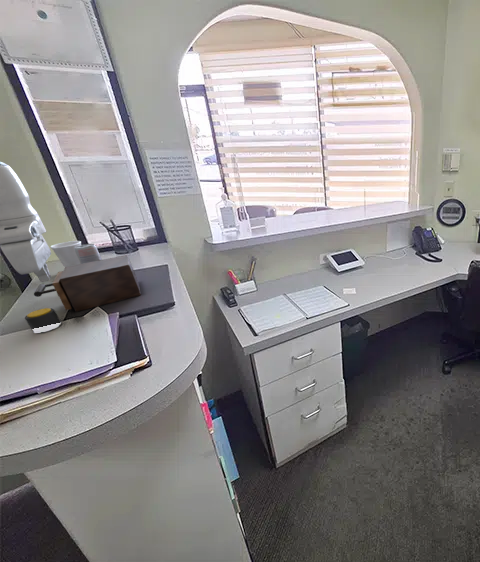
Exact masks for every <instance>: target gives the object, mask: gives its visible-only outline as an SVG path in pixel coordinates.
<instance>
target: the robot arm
mask: <svg viewBox="0 0 480 562" xmlns="http://www.w3.org/2000/svg"><path fill="white" fill-rule="evenodd" d="M46 233H47V229H46V227H45V225H44V224H43V221H42V219H41V217H40V215H39V212H37V210H36V209H35V208H34V207H33V206H32V203H31V199H30V195H29V193H28V192H27V189H26V188H25V186H24V184H23V182H22V180H21V179H20V177H19V176H18V174H17V173H16V172H15V171H14V169H13V168H12V167H11V166H10V165H8V164H7V163H5V162H3V161H0V249H1V251H2V253H3V254H4V256H5V257H6V259H7V260H8V262H9V263H10V265H11V266H12V267H13V269H14V270H15V272H16V273H18V274H19V275H27V274H34V275H35V276H36V277H37V279H38V280H39V282H40V283H45V282H49V281H50V280H51V278H52V275H51V274H50V271H49V268H48V267H49V266H48V264H47V261H48V259H49V258H50V256H51V255H52V249H51V248H50V247H49V245H48V242H47V240H46V239H45V238H44V235H43V234H46Z"/></svg>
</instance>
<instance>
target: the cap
mask: <svg viewBox="0 0 480 562" xmlns="http://www.w3.org/2000/svg"><path fill="white" fill-rule="evenodd" d="M24 319H25V321H26V323H27V324H28V326H29V328H30V330H32V329H34V328H39V327H43V326H47V325H51V324H56V323H60V322H61V320H60V318H59V316H58V314H57V313H56V311H55V309H54V308H49V307H46V308H39V309H36V310H33V311H31V312H29V313H28V314H27V315H25V316H24Z"/></svg>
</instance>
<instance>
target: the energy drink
mask: <svg viewBox="0 0 480 562" xmlns="http://www.w3.org/2000/svg"><path fill="white" fill-rule="evenodd" d="M75 252H76V255H77V257H78V259H79V261H80V263H81V264H83V263H88V262H93V261H98V260H103V259H102V257H101V254H100V253H99V250H98V248H97V246H96V245H95V243H86V244H81V245H80V246H76V247H75Z"/></svg>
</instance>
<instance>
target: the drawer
mask: <svg viewBox="0 0 480 562" xmlns="http://www.w3.org/2000/svg"><path fill="white" fill-rule="evenodd" d="M63 271H64V270H61V271H58V272H57V274H56V276H55V278H54V280H53V281H52V282H51V283H47V284H45V283H40V284H39V285H38V286H37V288H36V289H35V290H34V293H33V295H34V296H35V297H41V296H42V295H44V294H49V293H53V292H56V294H57V295H58V297H59V299H60V302H61V304H62V306H63V307H64V309H65V311H69V310H72V309H73V308H74V307H73V305H72V303H71V301H70V299H69V297H68V295H67V293H66V291H65V289H64V287H63V285H62V283H61V281H60V277H61V275H62V273H63ZM49 287H53V288H51V289H46V288H49Z"/></svg>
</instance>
